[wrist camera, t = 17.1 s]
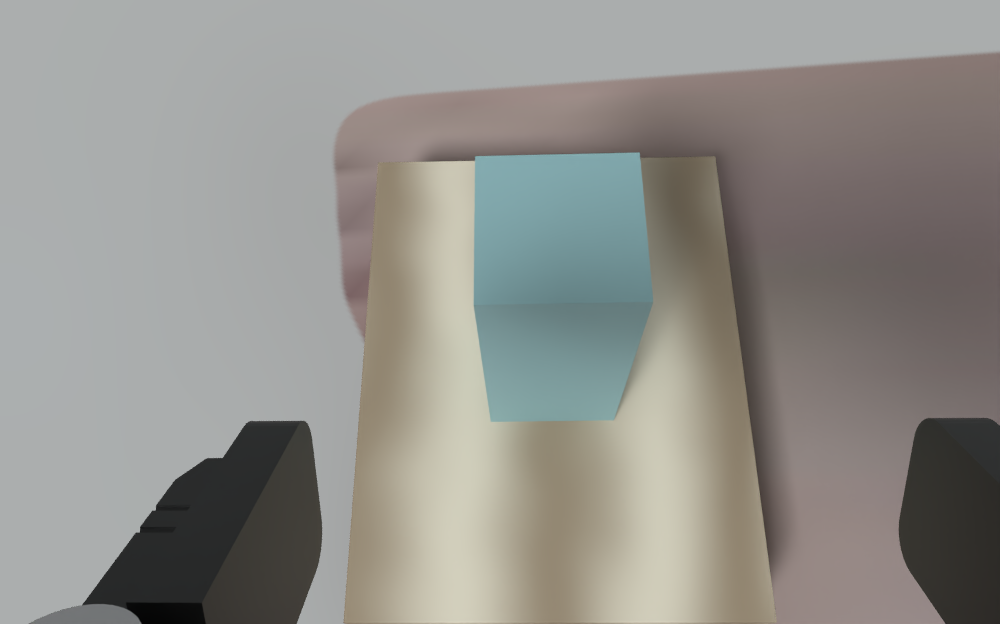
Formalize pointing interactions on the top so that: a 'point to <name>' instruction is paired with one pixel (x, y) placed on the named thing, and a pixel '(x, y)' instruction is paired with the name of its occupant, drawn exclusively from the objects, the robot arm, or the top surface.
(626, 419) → the birch plinth
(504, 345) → the teal block
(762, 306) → the top surface
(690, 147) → the top surface
